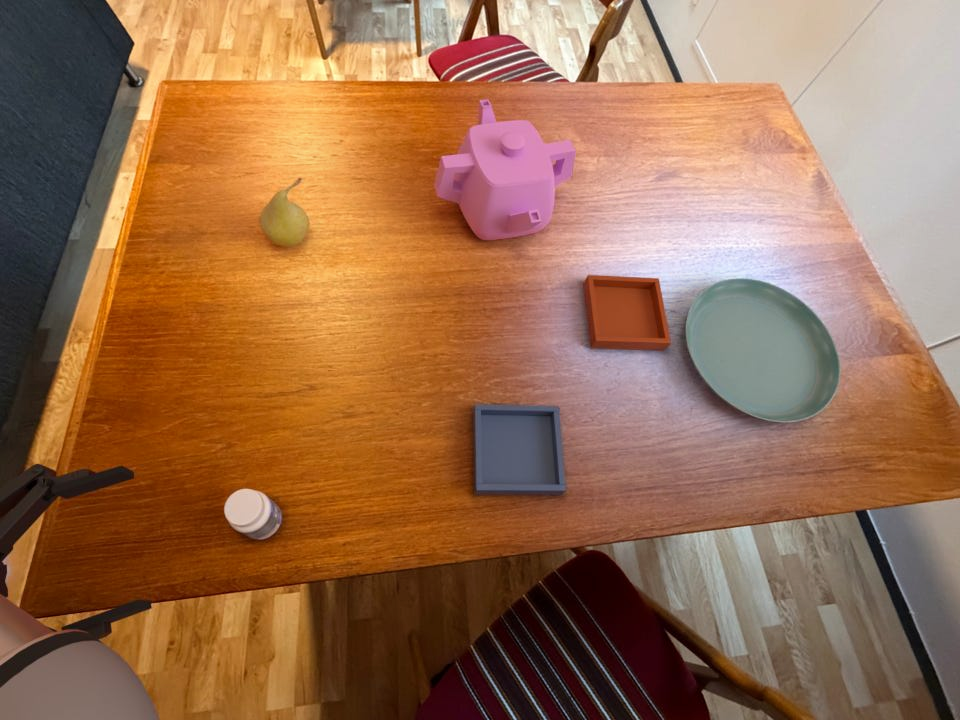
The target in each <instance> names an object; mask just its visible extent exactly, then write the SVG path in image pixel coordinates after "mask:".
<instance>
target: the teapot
mask: <svg viewBox="0 0 960 720" xmlns="http://www.w3.org/2000/svg"><path fill="white" fill-rule="evenodd" d="M576 153H577V150H576V147H575V146H574V144H573V142H572V140H571V139H565V140H559V141H554V142H547V143H545V141H544V140H543V138H542V136H541V134H540V133H539V131H538V130H537V128H536V127H535V126H534V125H533V124H532V123H531V122H530V121H529V120H526V119H514V120H504V121H503V120H502V121H497V118H496V115H495V113H494V110H493V105H492V103H491V101H490V100H489V98H488V99H480V100H479V101H478V123H477V125H476V124H475V125H473V126H470V127H469V129H468V130H467V132H466V134H465V136H464V137H463V140H462V141H461V143H460V145H459V148H458V151H457V154H449V155H448V154H447V155H441V156H440V160H439V165H438V167H437V172H436V176H435V180H434V182H433V185H434V190H435V193H436V197H438V198H440V199H443V200H447V201H449V202H452V203H454V204H458V206H459V208H460V210H461V212H462V215H463V217H464V219H465V221H466V223H467V224H468V226H469V228H470V229H471V231H472V232H473V234H474V235H475V236H476V237H477V238H478V239H480V240H483V241H496V240H503V239H504V240H505V239H512V238H516V237H523V236H527V235H531V234H536V233H538V232H540V231H541V230H543V229H544V228H546V227H547V225H549V223H550V222H551V220H552V216H553V212H554V207H555V196H556V191H555V190H556V187H557V186H559V185H561V184H562V183H564V182H566V181H568V180H570V179H571V178H572V177H573V172H574V165H575V161H576V160H575V159H576ZM552 162H555V163H554V164H553V163H552Z"/></svg>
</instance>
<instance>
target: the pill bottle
mask: <svg viewBox="0 0 960 720" xmlns="http://www.w3.org/2000/svg"><path fill="white" fill-rule="evenodd" d="M223 513H224V516H225V518H226V520H227V521H228V523H229V525H230V527H232V529H234V530H235V531H237V532H239V533H241V534H242V535H244V536H246V537H248V538H250V539H253V540H256V541H257V540H266V539H268V538H270V537H271V536H273V535H274V534H275V533H276V532H277V531H278V530H279V528H280V526H281V523H282V518H283V517H282V512H281V508H280V507H279V505H278V504H276V503H275V502H274V501H273V500H272V499H271V498H270V497H269V496H267V495H266V494H265V493H264V492H262V491H260V490H258V489H257V490H256V489H251V488H241V489H238V490H236V491H234V492H233V493H231V494H230V495H229V496H228V497H227V500H226V501H225V503H224V507H223Z"/></svg>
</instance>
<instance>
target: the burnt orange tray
mask: <svg viewBox="0 0 960 720" xmlns="http://www.w3.org/2000/svg"><path fill="white" fill-rule="evenodd" d="M582 286H583V293H584V303H585V310H586V319H587V320H586V321H587V326H588V327H587V328H588V335H589V344H590V349H597V350H598V349H601V350H625V351H626V350H629V351H630V350H631V351H656V352H657V351H658V352H659V351H661V352H664V351H666V350H667V348H668V347H669V346H670V345H671V344H672V340H671V335H670V329H669V325H668V319H667V314H666V309H665V303H664V299H663V293H662V289H661V282H660V278H658V277H640V276H639V277H638V276H619V275H617V276H616V275H598V274H597V275H596V274H587V275H586V278H585V280H584V281H583V284H582Z"/></svg>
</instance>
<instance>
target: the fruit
mask: <svg viewBox="0 0 960 720" xmlns="http://www.w3.org/2000/svg"><path fill="white" fill-rule="evenodd" d="M302 180H303V178H302V177H298V178H297V180H296V181H295V182H294V183H293V184H291V185H289V186H288V187H287V188H285V189H283V190H279V191H278V192H277V193H275V194H274V195H273V196H272V197H271V198H270V200H269V201H268V203H266V205H265V206H264V207H263V208H262V209H261V211H260V215H259V225H260V229H261V232H262V233H263V235H264V237H265V238H266V240H267V241H268V242H270V243H272V244H273V245H276V246H277V247H283V248H293V247H296V246H299V244H301V243H302V242H303V241H304V239H305V237H306V236H307V233H308V231H309V226H310V219H309V216H308V214H307V213H306V211H305V210H304V208H303V207H301V206H300V205H299V204H297V203H296V202H293V201H291V200H289V198H288V193H289V192H290V191H291V190H292V189H294V188H295V187H297V186H298V185H299V184H300V183H301V182H302Z"/></svg>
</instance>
